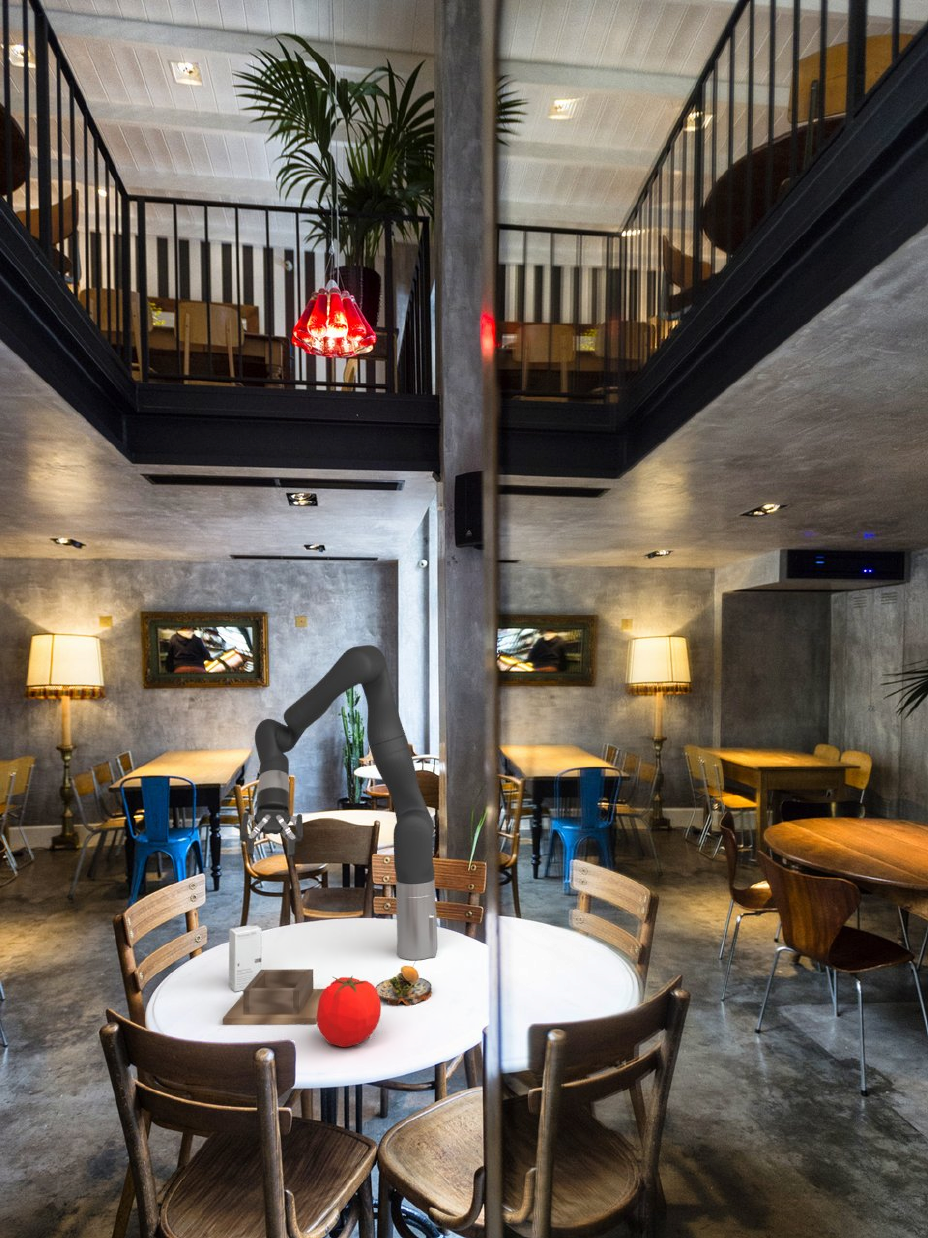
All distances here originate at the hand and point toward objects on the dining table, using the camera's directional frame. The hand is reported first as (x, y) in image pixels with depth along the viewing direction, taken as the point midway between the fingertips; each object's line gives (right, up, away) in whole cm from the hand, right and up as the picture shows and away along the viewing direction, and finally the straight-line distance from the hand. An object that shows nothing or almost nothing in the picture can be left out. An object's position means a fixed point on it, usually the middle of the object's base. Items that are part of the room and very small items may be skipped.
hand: (270, 857), depth 180 cm
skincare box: (-3, -25, -11) cm, 27 cm away
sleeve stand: (+8, -23, -24) cm, 34 cm away
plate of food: (+32, -23, -18) cm, 44 cm away
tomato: (+24, -22, -39) cm, 50 cm away
